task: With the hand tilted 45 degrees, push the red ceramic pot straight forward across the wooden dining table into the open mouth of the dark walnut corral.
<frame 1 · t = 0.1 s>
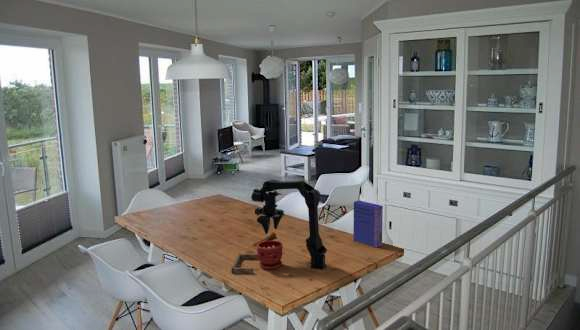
hand: (271, 231, 251), 15 cm above the table, tool pointing down, fingers open, 9 cm apart
plant pot: (270, 266, 242), on the table
primitive tool: (265, 242, 279), on the table
walnut corral: (246, 265, 243), on the table
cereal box: (367, 243, 273), on the table
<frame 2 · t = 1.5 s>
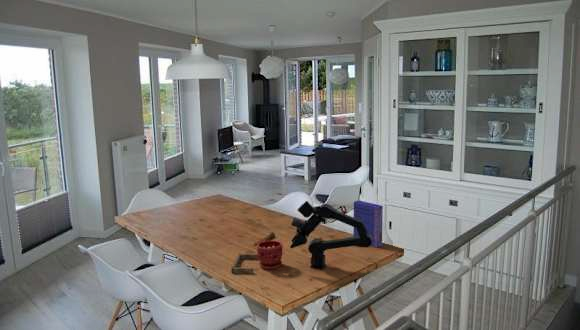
hand: (291, 244, 239), 11 cm above the table, tool tilted 45°, fingers open, 9 cm apart
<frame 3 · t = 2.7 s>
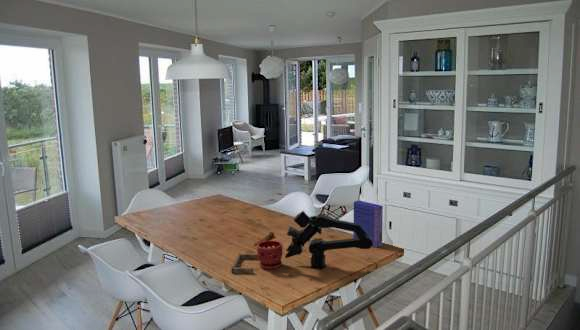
hand: (286, 253, 240), 7 cm above the table, tool tilted 45°, fingers open, 9 cm apart
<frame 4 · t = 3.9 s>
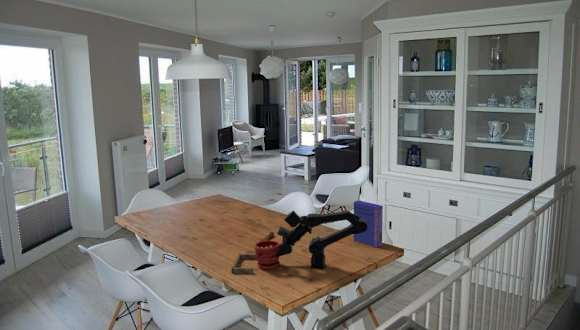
hand: (276, 253, 241), 7 cm above the table, tool tilted 45°
plant pot: (267, 266, 242), on the table, touching gripper
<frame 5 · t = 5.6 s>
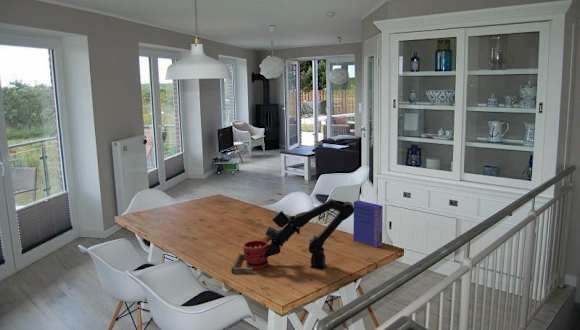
hand: (265, 253, 241), 7 cm above the table, tool tilted 45°
plant pot: (256, 266, 243), on the table, touching gripper
when the fingers open (7 cm above the table, at t = 5.8 s): plant pot stays where it is, on the table.
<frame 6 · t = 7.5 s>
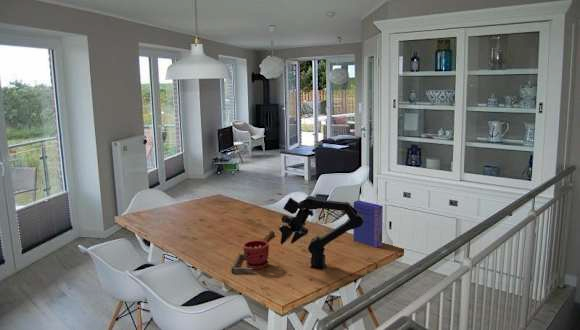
hand: (286, 243, 241), 12 cm above the table, tool tilted 30°, fingers open, 9 cm apart
plant pot: (256, 266, 243), on the table
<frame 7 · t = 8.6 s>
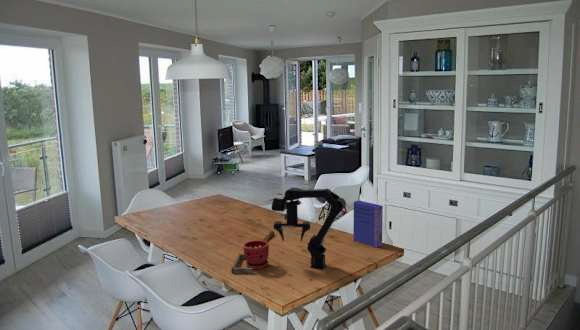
hand: (292, 241, 243), 12 cm above the table, tool pointing down, fingers open, 9 cm apart
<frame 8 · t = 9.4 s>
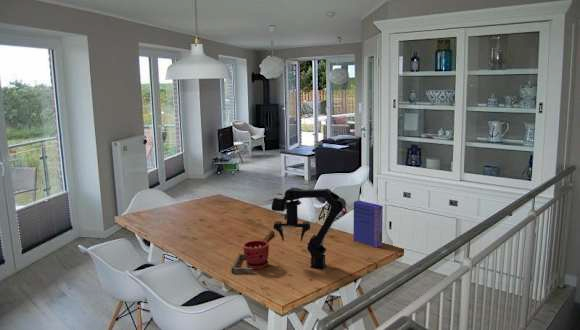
hand: (292, 241, 243), 12 cm above the table, tool pointing down, fingers open, 9 cm apart
at the end: plant pot inside the target area on the walnut corral (3.0 cm from its centre), point 0.0 cm above the walnut corral's base; plant pot tilted 0°; plant pot moved 7.1 cm from its start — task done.
